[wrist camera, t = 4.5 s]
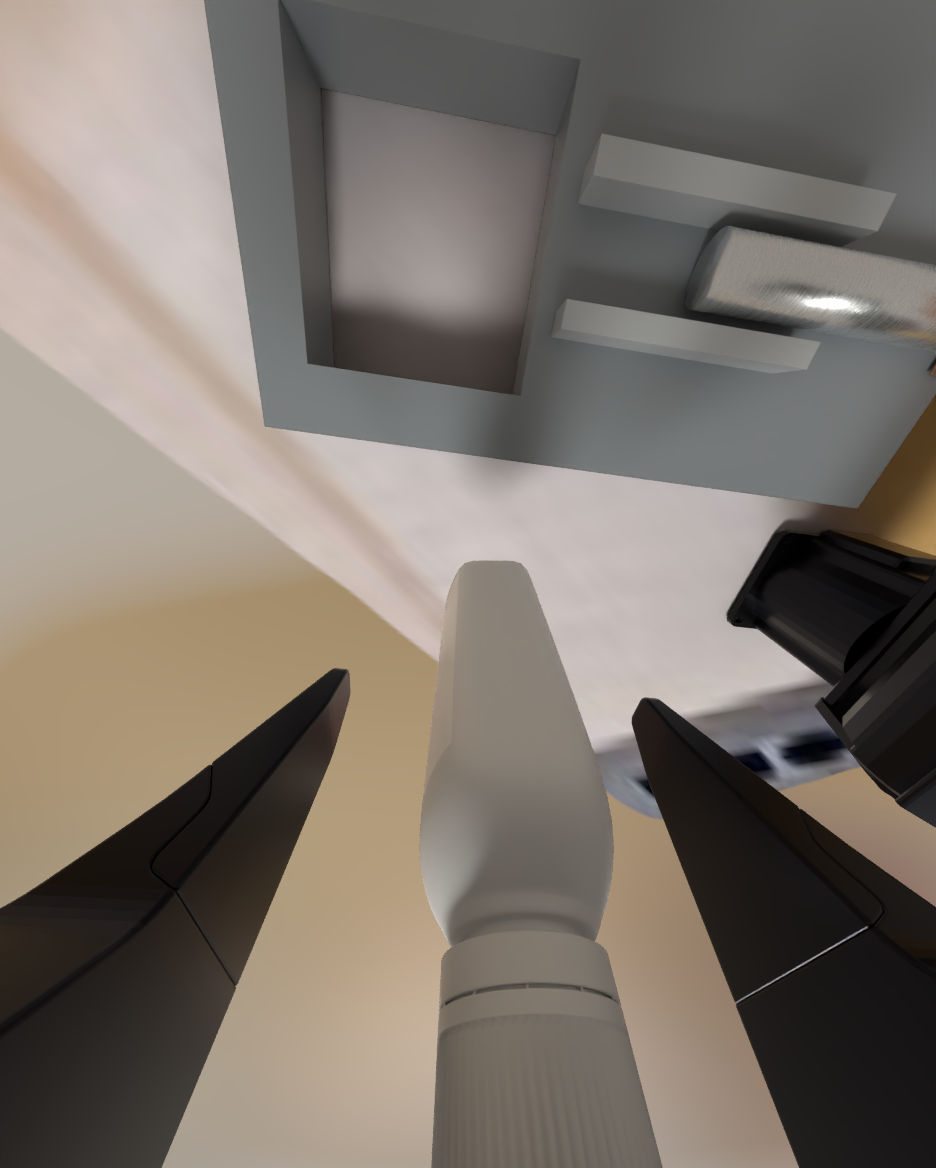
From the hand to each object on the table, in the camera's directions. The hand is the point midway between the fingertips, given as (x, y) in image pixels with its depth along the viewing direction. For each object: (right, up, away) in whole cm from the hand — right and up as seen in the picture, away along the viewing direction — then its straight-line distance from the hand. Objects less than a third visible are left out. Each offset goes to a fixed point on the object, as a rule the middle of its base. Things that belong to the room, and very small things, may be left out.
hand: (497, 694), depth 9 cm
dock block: (+5, +16, +5) cm, 17 cm away
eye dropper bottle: (0, +2, +3) cm, 4 cm away
